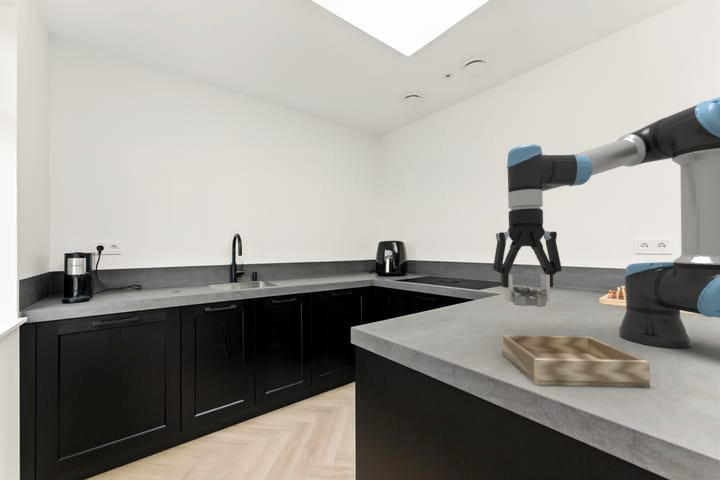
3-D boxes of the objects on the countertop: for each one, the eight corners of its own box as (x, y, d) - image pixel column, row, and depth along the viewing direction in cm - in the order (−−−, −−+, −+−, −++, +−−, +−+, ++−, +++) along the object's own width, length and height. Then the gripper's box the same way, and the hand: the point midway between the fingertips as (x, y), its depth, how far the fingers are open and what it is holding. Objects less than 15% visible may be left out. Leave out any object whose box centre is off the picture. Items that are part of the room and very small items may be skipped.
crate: (589, 356, 78) (589, 336, 78) (649, 387, 61) (649, 362, 61) (501, 354, 79) (501, 335, 79) (536, 384, 62) (536, 360, 62)
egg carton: (548, 308, 69) (548, 290, 69) (511, 306, 72) (511, 288, 72) (539, 299, 79) (539, 283, 79) (507, 298, 82) (507, 282, 82)
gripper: (560, 209, 79) (562, 297, 78) (477, 211, 80) (479, 298, 80) (578, 206, 71) (581, 303, 71) (487, 208, 73) (489, 303, 72)
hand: (527, 300), depth 75 cm, fingers closed on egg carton, 8 cm apart
